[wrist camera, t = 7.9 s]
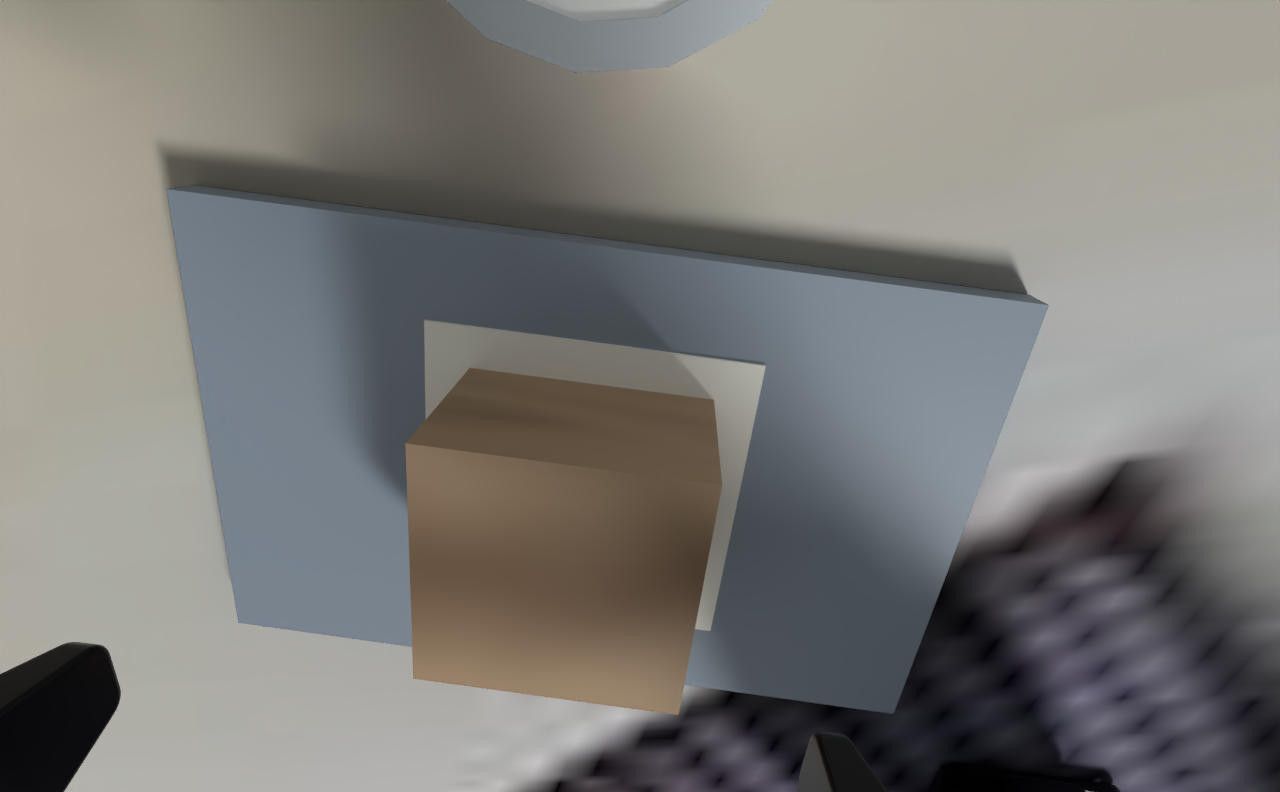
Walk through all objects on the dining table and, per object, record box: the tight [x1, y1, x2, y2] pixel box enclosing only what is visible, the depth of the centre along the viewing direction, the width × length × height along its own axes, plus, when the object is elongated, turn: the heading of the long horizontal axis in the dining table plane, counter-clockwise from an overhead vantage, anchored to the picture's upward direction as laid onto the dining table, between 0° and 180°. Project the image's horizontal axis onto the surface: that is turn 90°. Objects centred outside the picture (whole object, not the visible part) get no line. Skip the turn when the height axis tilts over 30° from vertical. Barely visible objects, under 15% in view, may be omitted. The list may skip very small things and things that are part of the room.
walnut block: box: [405, 368, 722, 715], centre depth 17 cm, size 7×7×4 cm
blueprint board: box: [166, 185, 1049, 714], centre depth 19 cm, size 14×22×1 cm, turn 83°
